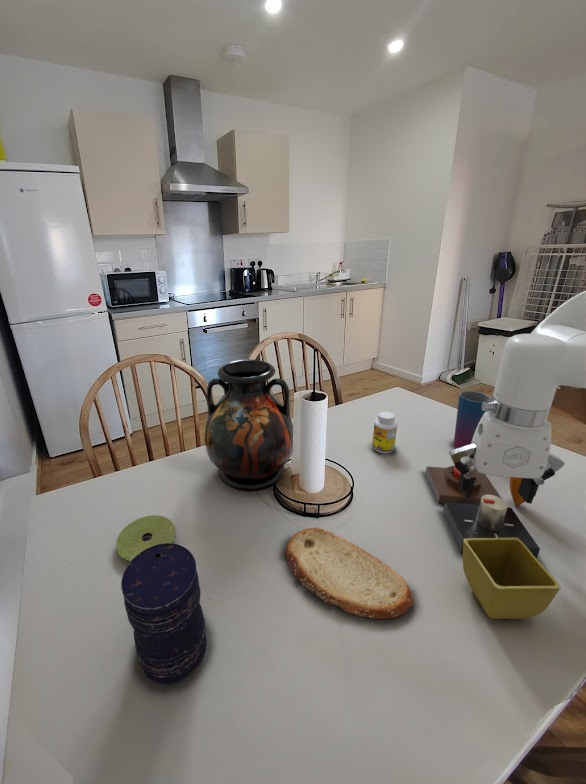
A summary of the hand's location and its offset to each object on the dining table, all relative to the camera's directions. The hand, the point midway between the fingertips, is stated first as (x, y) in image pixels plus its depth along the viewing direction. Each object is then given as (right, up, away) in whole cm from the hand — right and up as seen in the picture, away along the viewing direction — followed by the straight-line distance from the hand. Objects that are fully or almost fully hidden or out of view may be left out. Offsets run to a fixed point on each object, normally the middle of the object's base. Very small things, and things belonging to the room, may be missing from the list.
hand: (494, 495), depth 64 cm
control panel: (+1, -9, +4) cm, 10 cm away
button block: (+3, -4, +15) cm, 16 cm away
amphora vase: (-43, -3, +25) cm, 50 cm away
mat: (-64, -12, +6) cm, 65 cm away
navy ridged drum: (-55, -18, -12) cm, 60 cm away
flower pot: (-6, -14, -8) cm, 17 cm away
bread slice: (-28, -13, -2) cm, 31 cm away
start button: (+3, -1, +14) cm, 14 cm away
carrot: (+12, -6, +10) cm, 17 cm away
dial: (+1, -6, +2) cm, 7 cm away
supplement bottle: (-8, +2, +32) cm, 33 cm away
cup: (+13, +2, +30) cm, 33 cm away
